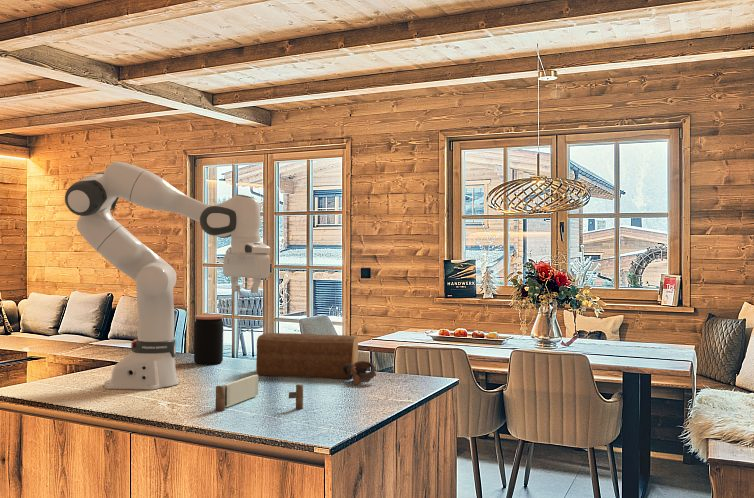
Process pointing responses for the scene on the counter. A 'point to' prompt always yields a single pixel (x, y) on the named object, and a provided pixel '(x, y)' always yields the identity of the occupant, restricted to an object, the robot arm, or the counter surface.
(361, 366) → the pottery mug
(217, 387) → the hinge post
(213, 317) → the coffee jar
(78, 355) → the counter surface
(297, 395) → the post
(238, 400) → the gate
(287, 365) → the bread
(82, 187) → the robot arm
